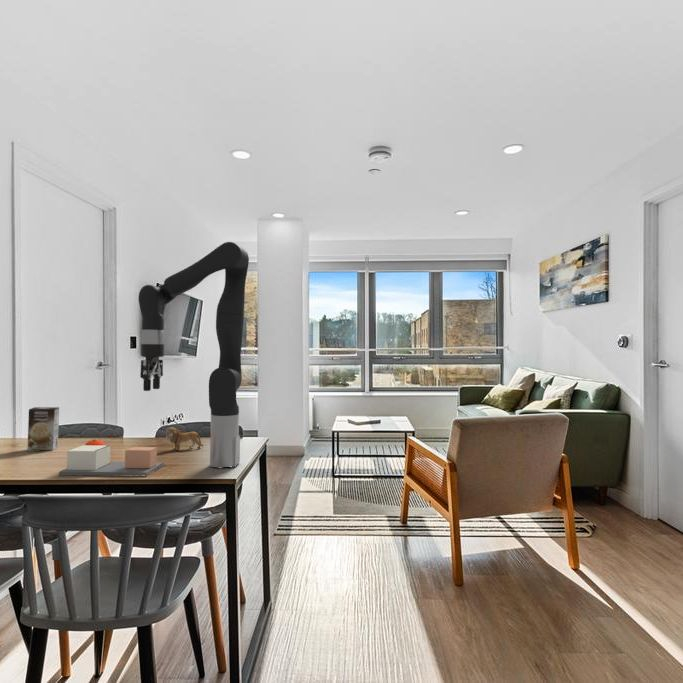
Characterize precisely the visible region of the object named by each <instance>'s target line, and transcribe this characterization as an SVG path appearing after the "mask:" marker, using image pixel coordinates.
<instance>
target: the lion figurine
mask: <svg viewBox="0 0 683 683" xmlns="http://www.w3.org/2000/svg"><path fill="white" fill-rule="evenodd" d="M165 437H166V440H168V441H170V442H171V444H174V447H173V450H174V449H176V450H179V449H180V448H181V443H188V442H189V441H191V446H189V448H190V447H193V448H194V446H196V445H197V447H196V448H200V447H201V448H202V447H204V444H202V441H201V436H200V435H199V434H198V432H196V431H189V432H183V431H181V430H179V429H176V427H168V428H167V429H166V431H165ZM201 448H200V449H201ZM176 450H175V451H176ZM179 451H180V450H179Z"/></svg>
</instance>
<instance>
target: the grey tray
mask: <svg viewBox="0 0 683 683" xmlns="http://www.w3.org/2000/svg"><path fill="white" fill-rule="evenodd" d="M66 453H67V454H66V457H67V458H66V468H64V469H62V470H59V471H58V476H59V475H145V476H144V477H148V476H149V475H148V474H150V473H151V474H153V473H154V472H153V471H155V470H156V471H158V470H159V469H161V468H163V467H164V466H165V461H156V465H155V466H153V467H151V468H125V461H111V445H109V444H108V445H105V446H95V445H85V444H84V445H80V446H77V447H75V448H72V449H70V450H67V452H66ZM163 465H164V466H163ZM162 466H163V467H162ZM160 467H161V468H160ZM158 468H159V469H158ZM157 469H158V470H157ZM156 471H155V472H156ZM152 472H153V473H152ZM151 474H150V475H151ZM147 475H148V476H147Z"/></svg>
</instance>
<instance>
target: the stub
mask: <svg viewBox="0 0 683 683" xmlns="http://www.w3.org/2000/svg"><path fill="white" fill-rule="evenodd" d="M157 448H158V447H157V446H155V447H151V446H132V447H130V448H127V449H125V450H124V451H125V452H124V453H125V454H124V462H125V468H151V467H153V466H155V465H156V462H157V454H158V453H157Z"/></svg>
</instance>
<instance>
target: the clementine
mask: <svg viewBox="0 0 683 683" xmlns="http://www.w3.org/2000/svg"><path fill="white" fill-rule="evenodd" d="M84 445H95V446H106V445H105V444H104V442H103V441H102V440H101V439H99V438H98V439H97V438H96V439H95V438H94V439H91V440H89V441H87V442H86V443H85V444H84Z"/></svg>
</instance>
